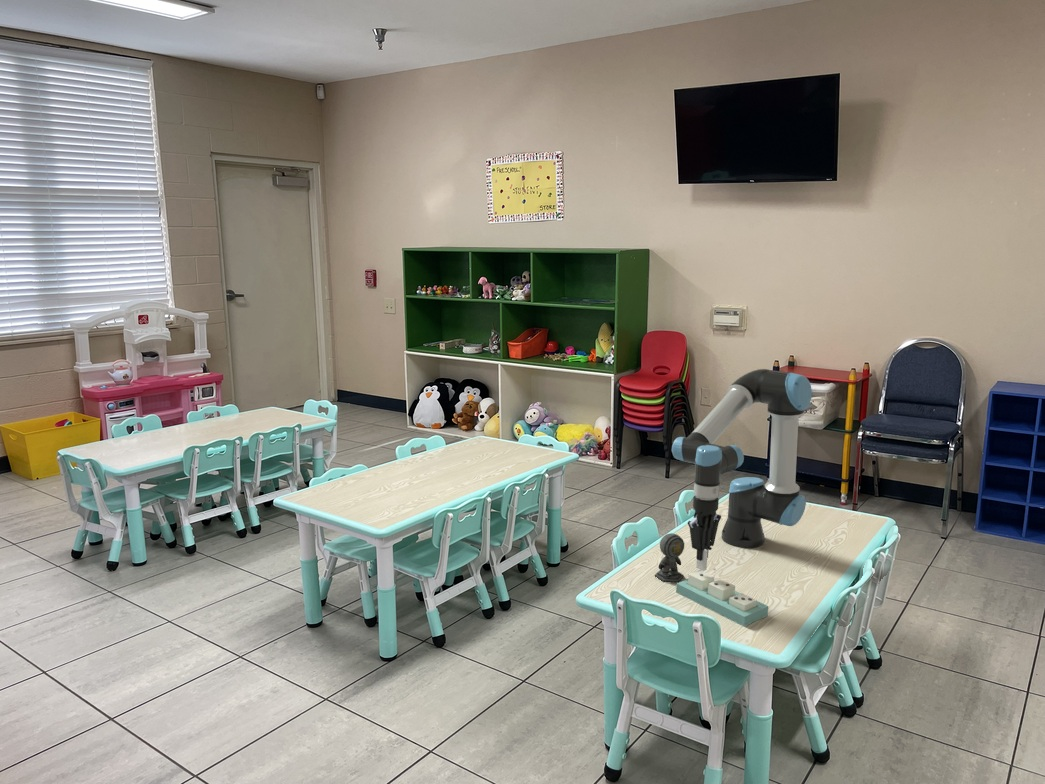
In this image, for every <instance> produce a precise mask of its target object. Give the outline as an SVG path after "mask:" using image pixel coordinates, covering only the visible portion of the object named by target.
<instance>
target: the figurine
mask: <svg viewBox="0 0 1045 784" xmlns="http://www.w3.org/2000/svg"><path fill="white" fill-rule="evenodd" d="M659 548H660V549H659V550H660V552H661V553H662V555H663V558H662V559H661V560H660V562H659V565H658V569H659V571H657V572H656V573H655V575H654V576H655V577H654V578H656V577H657V578H658V579H657V578H656V579H657V580H659V581H660V580H661V581H660V582H662V583H664V582H671V584H677V583H679V582H682V581H683V580H684V579H685V575H684V574H682V572H680V571H678V565H679V566H681V565H682V561H681V559H680V558H679V557H680V556H681V555H682V554H683V552H684V550H685V542H684V539H683V538H682V537H681V536H680V535H678V534H677V533H672V532H671V533H666V534H665V535H663V536H662V537H661V539H660V541H659Z"/></svg>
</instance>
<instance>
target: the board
mask: <svg viewBox="0 0 1045 784" xmlns="http://www.w3.org/2000/svg"><path fill="white" fill-rule="evenodd" d="M675 589H676V590H675V592H676V594H679V595H681V596H683V598H684V597H685V598H686V599H688V600H690V601H692V602H694V603H697V604H699V605H701V606H703V607H704V608H707V609H709V610H710V611H712V612H714V613H716V614H718V615H720V616H722V617H724V618H726V619H729V620H730V621H732V622H734V623H736V624H738V625H741V626H742V627H746V626H749V625H750V624H752V623H754V622H757V621H759V620H761V619H764V618H765V617H768V615H769V606H768V605H766V604H764V603H763V602H760V601H758V600H757V605H756V607H755V608H753V609H750V610H748V611H746V612H743V611H741V610H739V609H737V608H735V607H733V606H731V605H729V599H727V600H725V601H721V600H719V599H717V598H714V597H712V596H710V595H708V589H707V590H704V591H700V590H698V589H696V588H694V587H692V586H690V585H688V578H687V579H684V580H681V581H680V582H679V583H676V587H675ZM740 593H741V592H739V591H736V590H735V595H738V594H740Z"/></svg>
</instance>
